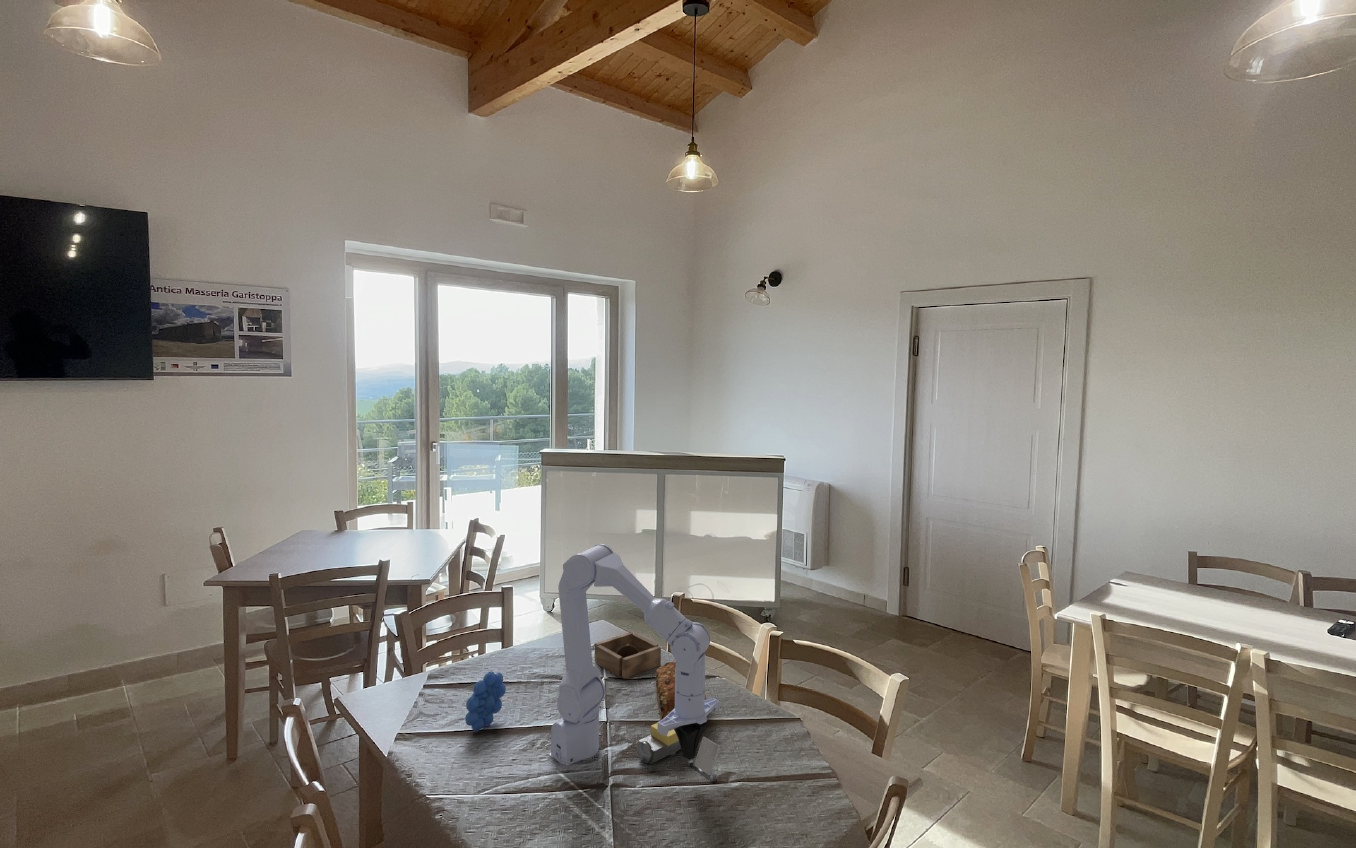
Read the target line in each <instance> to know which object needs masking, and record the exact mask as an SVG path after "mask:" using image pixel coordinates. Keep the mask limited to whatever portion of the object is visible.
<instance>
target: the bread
mask: <svg viewBox="0 0 1356 848" xmlns="http://www.w3.org/2000/svg"><path fill="white" fill-rule="evenodd" d="M675 669H676V661H667V662H666V663H664V664H662V665H660V666H658V668H657V669H656V670H655V692H656V700H657V709H658V714H659V721H661V720H662V719H664V718H665V717H666V716H667V715H668V714H669V713H670V712H671V711H672V710H673V709H674V708H675ZM705 700H707V695H706V694H705Z"/></svg>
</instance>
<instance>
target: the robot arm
mask: <svg viewBox="0 0 1356 848" xmlns="http://www.w3.org/2000/svg"><path fill="white" fill-rule="evenodd" d="M562 570H563V572H562V574H561V577H560V580H559V582H558V598H559V600H558V601H559V610H560V619H561V629H562V641H563V649H564V650H563V651H564V663H565V672H564V675H563V676H562V679H561V681H560V683H559V685H558V688H559V695H558V697H557V700H556V707H557V711H558V713H559V715H560V716H561V717H560V718H559V719H558V720H557V721H555V722H554V723H553V724H552V725H551V727H550V728H551V729H550V730H551V731H550V752H549V753H548V757H549V758H551V759H554V760H555V761H557V762H558V763H559V764H561V765H564V766H566V767H567V766H570V765H572V764H574V763H577V762H580V761H582V760H587V759H590V758H593V757H594V756H596V754H597V753H598V752H599V748H600V745H599V744H600V736H599V735H600V728H599V727H600V706H601V705H600V703H601V702H602V701H603V699H604V698H605V696H606V686H605V684H604V682H603V679H602V678H601V670H600V669H599V668H597V667H596V666H594V665H593V664H594V663H593V662H594V661H593V653H592V644H591V634H590V633H591V632H590V631H591V630H590V623H589V621H590V619H589V612H588V601H587V600H588V599H587V598H588V597H587V591H588V590H589V589H590V588H591V586H593V587H596V588H597V587H599V588H601V587H602V588H603V587H613V588H614V589H615V590H616V591H617V592H619V593H620V594H621V595H623V596H624V598H626V599H627V600H628V601H630V602H631V603H632V604H633V605H635V606H636V607H637V608H638V609H639V610H641V611H642V612H643V616H644V622H645V623H646V624H647V625H648V626H649V627H650V628H651V629H652V630H654V631H655V632H656V633H657V634H658V636H660V637H661V638H662V639H663V640H664V641H666V643H667V644H669V645H670V652H671V655H672V657H673V658H674V659H675V660H674V661H675V662H676V669H675V708H674V709H673V710H672V711H671V712H670V713H669V714H668V715H667V716H666V717H665V718H664V719H662V720H661V721H660V720H659V721H657V723H658V725H657V732H659V733H660V734H662V735H663V736H665V735H667V734H668V732H669V731H671V730H673V729H674V731H675V732H676V734H677V737H678V739H679V742H680V746H681V749H680V750H681V754H682V757H683V758H684V759H687V760H688V761H690V760H693V759H695V757H696V753H697V752H698V751H697V750H698V747H699V745H700V744H699V743H700V742H701V740H702V738H703V735H704V733H705V732H706V729H707V727H708V718H707V716H708V715H709V714H711V712H716V713H717V712H718V711H720V700H718V699H716V698H715V697H711V698H706V700H705V695H706V694H705V693H706V655H707V654H706V651H707V649H708V648H709V647H710V644H711V635H710V633H709V631H708V630H707V628H706V627H705V625H704V624H703V623H700V622H697V621H696V622H694V621H691V620H690V619H688V618H687V617H685V615H683V614H682V613H681V612H680V611H679V610H678V609H677V608H676V607H674V606H675V603H673V602H672V601H671V600H669V601H668V600H667V599H666V598H657V597H655V596H654V595H653V594H652V592H650V591H649V590H648V589H647V588H646V587H645V586H644V585H643V584H642V582H640V580H638V579H637V578H636V576H635V575H634V574H633V573H632V572H631V571H630V570H629V569H628V568H627V567H626V566H625V565H624V562H623V561H622V558H621V556H620V555H619V554H618V553H617V552H614V551H613V550H612V548H611V547H610V546H608V545H606V544H604V543H597V544H595V545H593V546H592V547H591V548H588V549H586V550H584V551H581V552H579V553H576V554H574V555H572V556H570V557H569V558H568V559H567V560H566V561H565V562H564V563H562Z"/></svg>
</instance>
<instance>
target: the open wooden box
mask: <svg viewBox="0 0 1356 848" xmlns="http://www.w3.org/2000/svg"><path fill="white" fill-rule="evenodd" d="M627 643H628V644H629V645H633V646H635V647H636V648H637V650H638V653H636V654H633V655H631V656H628V657H625V658H623V657H622V656H620V655H618V654H616V652H617V650H618V649H619V648H620V647H621V646H623V645H627ZM594 662H595V663H596V665H598V666H599V667H601V668H603V669H605V670H606V671H608V672H610V673H611V674H613V675H615V676H616V677H618V678H619V677H621V678H623V679H628V678H631V677H633V676H636V675H639V674H641V673H643V672H646V671H649V670H652V669H654V668H657V667H661V666H662V663H661V662H662V647H661V646H659V644H658V643H656V642H654V641H652V640H650V639H648V638H646V637H643V636H642V635H640V634H638V633H633V632H627V633H623V634H620V635H616V636H614V637H611V638H610V637H609V638H607V639H603V640H602V641H598V642H594Z"/></svg>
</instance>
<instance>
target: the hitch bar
mask: <svg viewBox="0 0 1356 848" xmlns="http://www.w3.org/2000/svg"><path fill="white" fill-rule="evenodd" d="M680 750H681V746H680V742H679V741H677V742H675V743H673V744H671V745H669V746H667V745H666V744H664V743H663V742H661V741H660V740H658V739H657V738H655V737H653V736H652V735H651V734H649V735H648V736H647V735H646V736H645V737H643V738H641V739H638V743H637V745H636V753H637V756H638V758H639V760H640V761H641V763H643V764H647V763H648V764H649V765H653V764H654V763H656V762H658V761H660V760H661V759H663V758H666V757H668V756H671V755H670V754H672V753H674V752H676V753H677V752H678V751H680ZM694 763H695V760H693V759H691V760H688V761H687V763H686V764H687V765H686V766H687V767H689V768H691V767H690V766H691V764H694ZM717 778H718V777H717V774H715V773H714V774H711V776H710V780H709V781H710V782H711V783H713V782H715V781H717Z"/></svg>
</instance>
